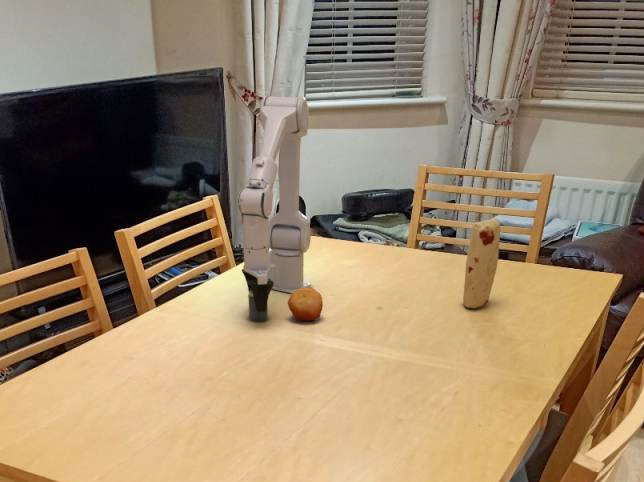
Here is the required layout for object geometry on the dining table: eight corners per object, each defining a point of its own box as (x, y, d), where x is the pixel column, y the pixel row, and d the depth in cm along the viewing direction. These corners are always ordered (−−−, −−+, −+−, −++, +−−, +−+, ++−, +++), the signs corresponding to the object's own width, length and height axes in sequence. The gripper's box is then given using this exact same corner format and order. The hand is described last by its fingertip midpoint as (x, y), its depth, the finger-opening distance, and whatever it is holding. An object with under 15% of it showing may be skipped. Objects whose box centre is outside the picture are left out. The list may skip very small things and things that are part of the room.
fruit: (324, 304, 181) (323, 281, 174) (322, 331, 178) (321, 309, 170) (290, 303, 182) (288, 280, 174) (288, 330, 178) (285, 308, 171)
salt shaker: (245, 319, 177) (244, 292, 173) (256, 314, 180) (255, 287, 176) (260, 323, 175) (259, 295, 171) (271, 317, 178) (271, 290, 174)
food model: (480, 313, 179) (492, 226, 168) (454, 308, 182) (464, 222, 171) (496, 301, 186) (509, 217, 174) (471, 296, 189) (482, 213, 177)
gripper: (280, 253, 163) (281, 315, 171) (268, 236, 174) (269, 294, 182) (247, 256, 162) (250, 317, 169) (237, 237, 173) (240, 296, 181)
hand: (258, 305), depth 176 cm, fingers open, 7 cm apart
